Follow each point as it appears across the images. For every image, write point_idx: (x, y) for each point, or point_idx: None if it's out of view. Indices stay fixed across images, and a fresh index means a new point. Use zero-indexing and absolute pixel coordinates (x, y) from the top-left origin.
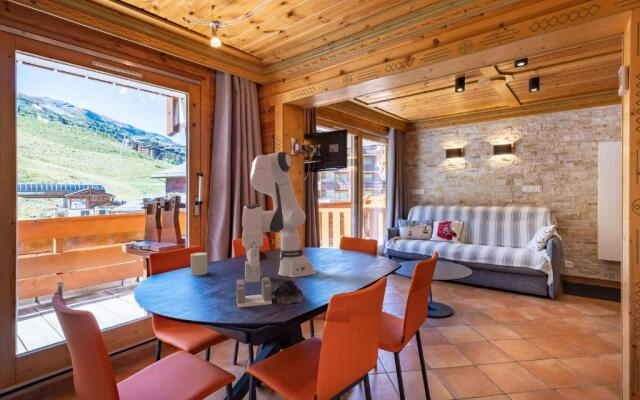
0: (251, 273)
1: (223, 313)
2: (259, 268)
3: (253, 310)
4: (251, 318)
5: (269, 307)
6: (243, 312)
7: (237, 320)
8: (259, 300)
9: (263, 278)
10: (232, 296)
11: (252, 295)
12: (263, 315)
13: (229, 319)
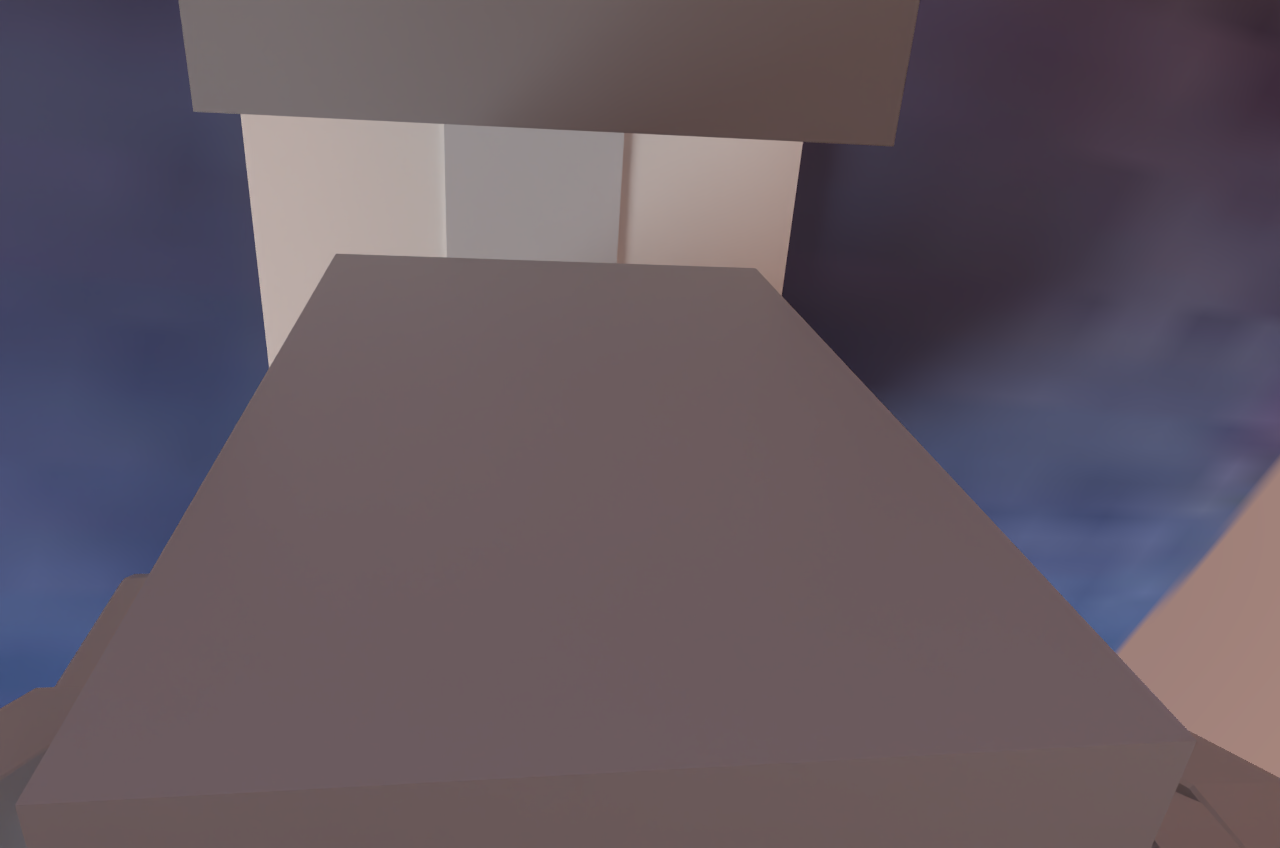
0: None
1: None
2: (957, 524)
3: (970, 318)
4: (1240, 380)
5: (979, 18)
6: (970, 462)
7: (1188, 543)
8: (660, 171)
9: (330, 61)
10: (115, 588)
11: (274, 265)
12: (1250, 200)
13: (1102, 623)
